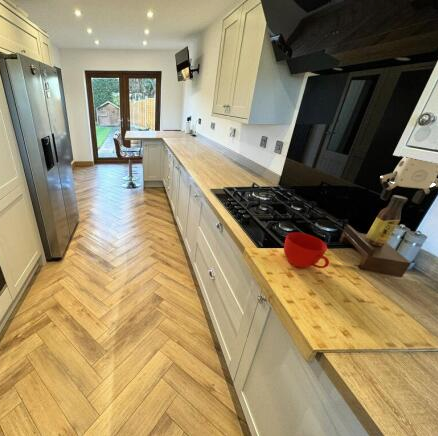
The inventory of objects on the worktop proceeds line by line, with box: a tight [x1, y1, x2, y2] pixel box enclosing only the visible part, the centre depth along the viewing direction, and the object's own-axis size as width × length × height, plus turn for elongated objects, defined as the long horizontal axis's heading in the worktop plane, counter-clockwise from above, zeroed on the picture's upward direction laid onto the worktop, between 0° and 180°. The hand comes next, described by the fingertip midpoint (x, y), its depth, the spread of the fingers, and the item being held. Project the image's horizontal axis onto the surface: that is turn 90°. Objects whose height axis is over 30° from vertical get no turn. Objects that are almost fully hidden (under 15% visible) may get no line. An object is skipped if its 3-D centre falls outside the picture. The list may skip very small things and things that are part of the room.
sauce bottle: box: [365, 194, 409, 246], centre depth 90 cm, size 7×6×20 cm
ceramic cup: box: [283, 232, 330, 269], centre depth 87 cm, size 13×17×10 cm
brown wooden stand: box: [338, 224, 412, 278], centre depth 94 cm, size 13×20×10 cm, turn 164°
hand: (399, 201), depth 86 cm, fingers open, 9 cm apart
